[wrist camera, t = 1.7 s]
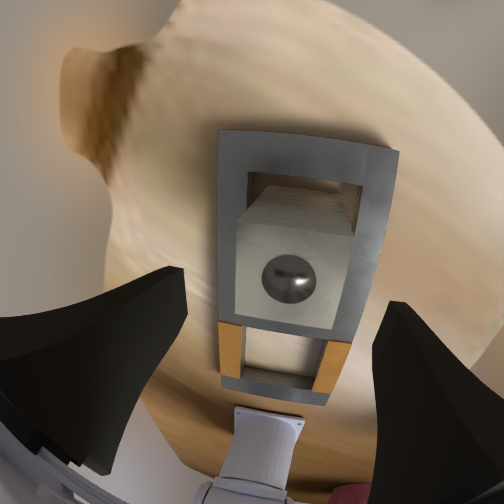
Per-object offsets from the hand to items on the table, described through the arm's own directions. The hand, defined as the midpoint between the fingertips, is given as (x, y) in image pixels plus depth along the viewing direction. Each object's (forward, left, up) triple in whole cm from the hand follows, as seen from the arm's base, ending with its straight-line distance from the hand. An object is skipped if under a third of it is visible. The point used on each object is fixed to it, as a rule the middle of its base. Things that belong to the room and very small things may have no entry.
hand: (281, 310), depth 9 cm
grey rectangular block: (0, 0, -9) cm, 9 cm away
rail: (-6, 0, -9) cm, 11 cm away
